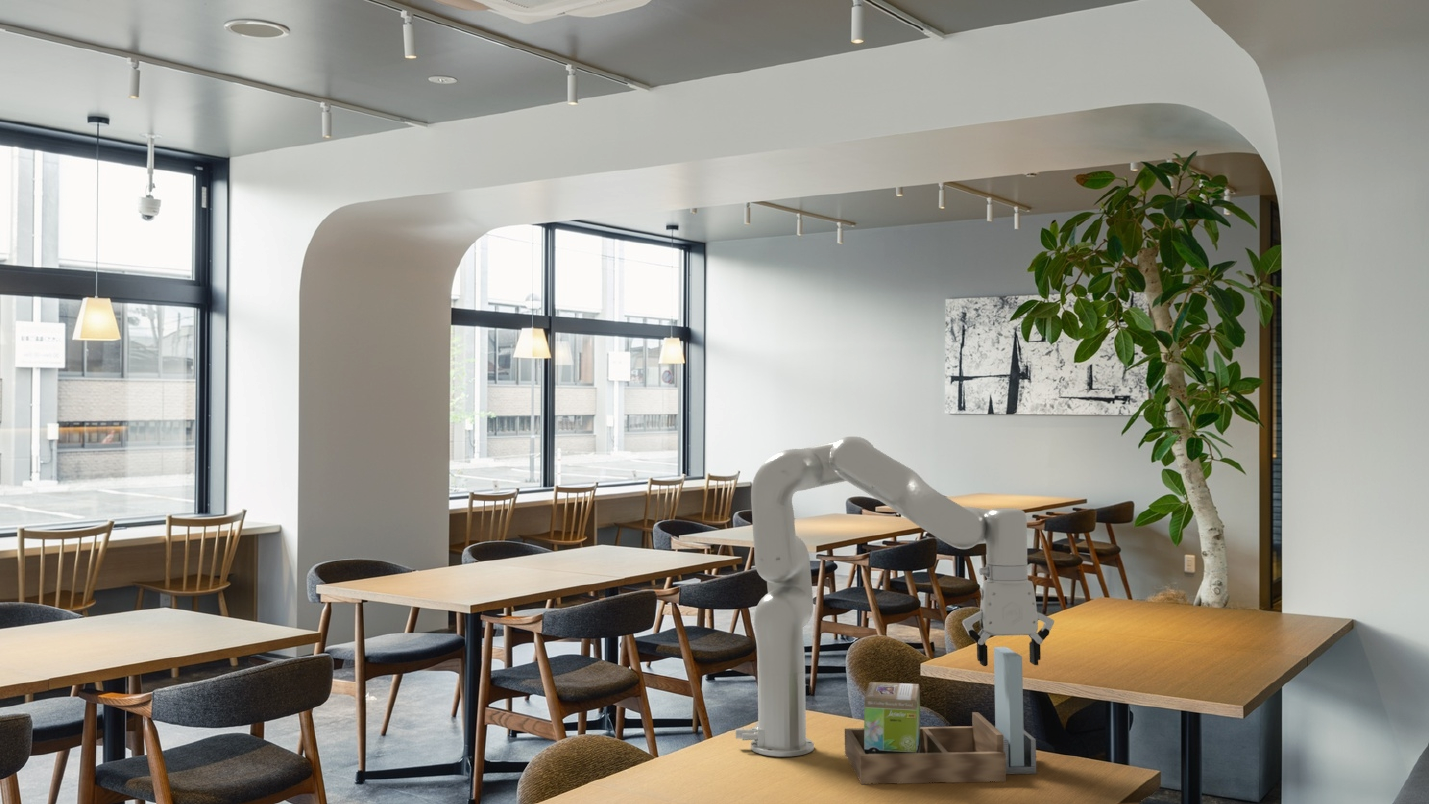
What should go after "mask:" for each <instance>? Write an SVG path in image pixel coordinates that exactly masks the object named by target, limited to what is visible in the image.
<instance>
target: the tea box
mask: <svg viewBox="0 0 1429 804" xmlns="http://www.w3.org/2000/svg"><path fill="white" fill-rule="evenodd" d="M920 689H921V688H920V684H919V683H905V682H904V683H903V682H901V683H900V682H884V681H883V682H878V681H870V682H869V683H868V687H867V689H866V692H865V696H864V704H863V705H864V709H863V711H864V712H863V715H864V716H863V717H864V719H863V721H864V726H863V728H864V752H865V754H897V753H920V727H921V725H920V723H921V717H920V716H921V701H920V699H921V698H920V696H921V695H920V694H921V693H920Z"/></svg>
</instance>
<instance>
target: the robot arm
mask: <svg viewBox="0 0 1429 804" xmlns="http://www.w3.org/2000/svg"><path fill="white" fill-rule="evenodd" d="M842 482H843V483H844V482H848V483H849V484H851V485H853V486H854V487H856V488H858V489H859V490H861V491H863V492H864V493H866V494H867V495H869V496H871V497H873V498H874V499H876V500H877V501H880V502H881V503H883V504H884V505H886V506H887V507H889V508H891V509H892V510H893V511H894V512H896V513H897V514H899V515H901V516H903V517H904V518H906V519H907V520H909V521H910V522H912V523H914V524H915V525H916V526H918V527H919V528H921V529H922V530H923V531H925V532H927V533H929V534H931V535H932V536H934V537H935V538H936V539H939V540H941V541H942V542H944V543H945V544H948V545H949V546H951V547H953V548H954V549H955V548H956V549H960V550H968V549H971V548H973V547H975V546H977V545H980V544H985V545H986V548H985V549H986V564H985V567H979V569H978V570H979V571H978V573H979V576H984V577H986V580H984V581H983V584H982V588H981V589H982V590H981V597H980V605H979V607H980V608H979V611H977V612H975V613H974V614H971V615H970V616H968V617H966V618H964V619H963V620H962V621H961V624H962V626H963V627H964V629H965V631H966V633H967V635H968V636H969V637H970V638H971V639H972V640H974V642H975V643H976V658H977V659H976V660H977V661H978V662H979V664H980V665H981V666H983V667H988V665H989V663H988V660H989V657H988V656H989V655H988V653H989V652H988V645H987V644H986V643H987V640H988V639H990V637H991V636H995V637H996V636H999V637H1001V636H1002V637H1003V636H1028V637H1029V638H1030V639H1031V641H1030V642H1029V647H1028V648H1029V650H1028V651H1029V663H1031V664H1032V665H1034V666H1039V661H1041V658H1042V657H1041V644H1043V643H1044V642H1043V641H1044V640H1045V639H1046V638H1047V637H1048V636H1049V634H1050V631H1051V630H1052V628H1053V625H1054V623H1055V620H1054V619H1053V618H1050V617H1049V616H1047V615H1045V614H1043V613H1041V612H1039V611H1038V608H1037V601H1036V600H1037V599H1036V593H1035V592H1036V591H1035V587H1034V584H1033V581H1032V580H1029V576H1028V575H1029V574H1028V573H1029V572H1028V569H1029V568H1028V528H1027V527H1028V520H1027V514H1026V512H1025V511H1024V510H1022V509H1020V508H1001V507H1000V508H993V509H990V508H989V509H987V508H980V507H975V506H974V507H973V506H962V505H960V504H959V503H957V502H956V501H954V500H952V499H951V498H948V497H947V496H945V495H943V494H942V493H940V492H939V491H937V490H936V489H935V488H933V487H932V486H930V485H929V484H928V483H927V482H926V481H925V480H924V479H923V478H922V477H921V476H920V475H919V474H918V473H917V472H916V471H915V470H913V469H911V468H910V467H908V466H907V465H904V464H903V463H901V462H900V461H898V460H896V459H894V458H892V457H891V456H889V455H888V454H885V453H884V452H882V451H881V450H879V449H878V448H875V447H874V445H873V444H872V443H871V442H870V441H869V440H868V439H866V438H863V437H861V436H845V437H843V438H840V439H839V440H838V441H834V442H830V443H824V444H820V445H815V446H810V447H805V448H791V449H785V450H783V451H780V452H778V453H776V454H774V455H773V456H771V457H769V458H768V459H767V460H765V462H763V463H762V465H761V466H760V467H759V468H758V470H757V471H756V473H755V475H754V478H753V481H752V484H751V490H750V491H751V492H750V500H751V501H750V502H751V515H752V516H751V517H752V518H751V519H752V537H753V548H754V549H753V551H754V557H753V558H754V567H755V569H756V572H757V573H758V576H759V577H761V579H763V580H764V581H765V582H766V586H767V593H766V594H765V595H764V596H763V597H761V599H760V600H759V602H758V604H757V605H756V607H755V611H754V618H753V619H754V623H753V624H754V634H755V641H756V659H757V664H756V665H757V667H756V668H757V669H756V671H757V705H758V706H757V709H758V710H757V722H756V723H755V726H752V727H750V728H747V729H746V728H735V730H734V731H735V739H736V740H737V739H738V740H740V739H741V740H742V741H751V742H750V749H751V751H752V752H754V753H756V754H759V755H763V756H768V757H778V758H779V757H785V758H787V757H798V756H802V755H803V756H804V755H807V754H810V753H811V752H813V751H814V749H815V743H814V742H813V741H812V739H809V738H807V733H806V731H807V728H806V727H807V726H806V725H807V721H806V718H807V717H806V713H807V712H806V711H807V710H806V660H805V658H806V656H805V655H806V654H805V643H804V634H803V633H804V631H803V630H804V629H803V628H804V627H805V626H806V625H808V622H809V621H810V620H811V618H812V615H813V611H814V597H813V596H814V595H813V584H812V582H813V581H812V571H811V570H812V569H811V560H810V555H809V554H810V553H809V550H808V548H807V545H806V543H805V542H804V541H803V540H802V538H800V537H799V536H797V535H796V527H795V526H796V525H795V524H796V523H795V521H796V520H795V511H794V507H793V496H794V494H795V493H796V492H800V491H801V492H802V491H806V490H810V489H811V490H812V489H815V488H819V487H824V486H828V485H833V484H840V483H842ZM1039 621H1041V622H1042V623H1043V625H1042V628H1040V630H1039V631H1038V629H1039ZM976 622H977V623H978V622H979V627H980V630H979V632H976V631H975V630H974V627H973V625H974V624H975V623H976Z"/></svg>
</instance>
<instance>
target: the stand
mask: <svg viewBox="0 0 1429 804" xmlns="http://www.w3.org/2000/svg"><path fill="white" fill-rule="evenodd" d="M1023 732H1024V766H1010V765H1009V754H1008V739H1007V738H1005V737H1004V736H1003V746H1004V752H1005V754H1006V775H1023V774H1024V775H1025V774H1026V775H1030V774H1032V775H1033V774H1034V775H1036V774H1037V742H1036V741H1037V740H1036V738H1034V736H1032V735H1031V734H1030V733H1029V732H1027V731H1026V730H1025V729H1024V728H1023Z"/></svg>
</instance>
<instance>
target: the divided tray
mask: <svg viewBox="0 0 1429 804" xmlns="http://www.w3.org/2000/svg"><path fill="white" fill-rule="evenodd" d="M971 716H972V717H971V722H972V724H971V725H972V726H971V725H970V726H966V725H965V726H961V725H960V726H920V753H897V754H865V752H864V727H863V728H862V727H860V728H856V727H855V728H853V727H852V728H851V727H850V728H844V755H845V754H846V755H847V756H846V755H845V756H846V758H847V757H848V758H847V760H848V759H849V760H848V762H849V761H850V762H849V764H850V763H851V764H850V765H851V767H852V769H853V768H854V769H853V771H854V770H855V771H854V773H855V775H856V774H857V775H856V777H857V776H858V777H859V778H858V777H857V778H858V780H859V779H860V780H859V783H860V782H861V783H860V784H861V785H875V784H874V783H877V784H876V785H879V784H878V783H897V784H935V783H934V782H946V783H983V782H985V783H989V782H990V781H991V783H993V782H994V781H995V782H1007V774H1006V754H1005V752H1004V746H1003V734H1002V733H1001V732H1000V731H999V730H997V729H996V728H995V725H993V724H992V723H991V722H990V721H989V720H987V718H986V717H985V716H983V715H982V714H981V713H980V712H978V711H977V712H976V711H972V712H971ZM992 781H993V782H992ZM929 782H930V783H929ZM932 782H933V783H932ZM864 783H865V784H864ZM867 783H869V784H867ZM871 783H873V784H871Z"/></svg>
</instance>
